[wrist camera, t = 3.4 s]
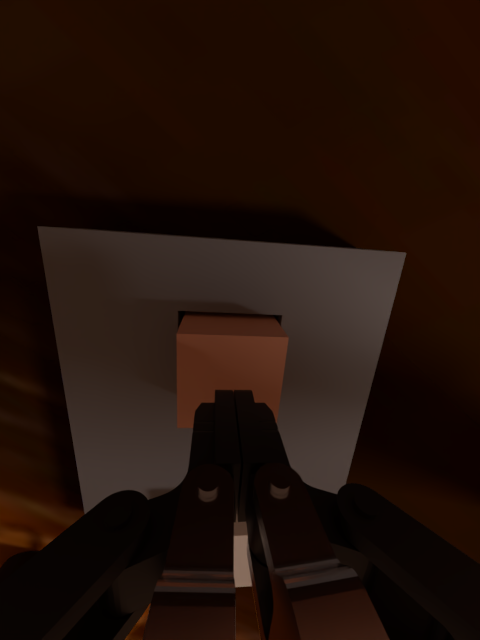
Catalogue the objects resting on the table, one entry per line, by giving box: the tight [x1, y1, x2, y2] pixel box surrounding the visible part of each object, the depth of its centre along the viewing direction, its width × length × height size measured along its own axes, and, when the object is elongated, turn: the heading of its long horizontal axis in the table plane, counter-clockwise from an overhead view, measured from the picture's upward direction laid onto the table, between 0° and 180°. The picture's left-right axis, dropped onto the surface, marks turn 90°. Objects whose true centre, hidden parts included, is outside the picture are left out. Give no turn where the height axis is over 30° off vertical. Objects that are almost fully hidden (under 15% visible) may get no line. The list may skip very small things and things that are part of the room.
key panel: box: [37, 226, 406, 514], centre depth 19 cm, size 18×26×5 cm
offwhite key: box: [234, 514, 252, 587], centre depth 18 cm, size 5×5×4 cm
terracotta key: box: [177, 311, 289, 428], centre depth 14 cm, size 5×5×4 cm
